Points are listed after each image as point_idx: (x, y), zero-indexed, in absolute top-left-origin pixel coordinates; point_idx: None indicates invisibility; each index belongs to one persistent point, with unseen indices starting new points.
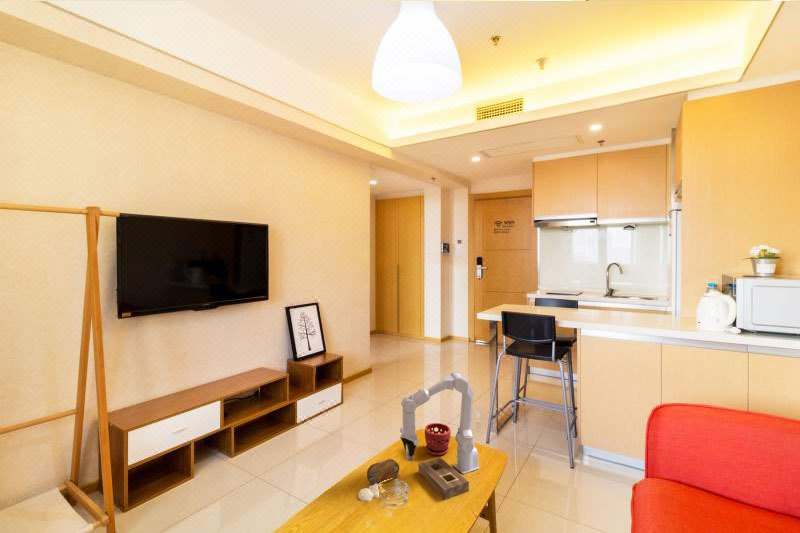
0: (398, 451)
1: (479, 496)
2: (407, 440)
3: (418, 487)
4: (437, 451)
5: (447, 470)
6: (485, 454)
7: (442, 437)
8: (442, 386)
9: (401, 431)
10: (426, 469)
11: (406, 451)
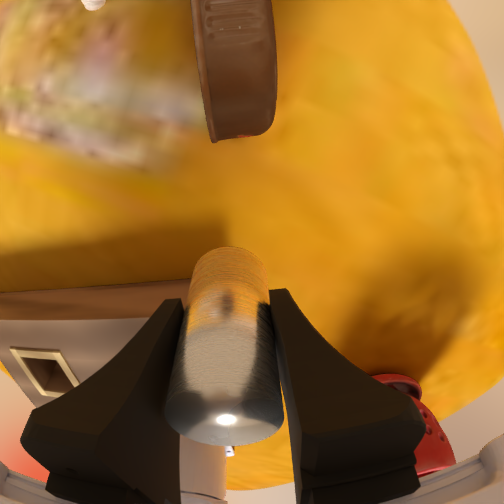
0: (485, 246)
1: None
2: (293, 441)
3: (76, 218)
4: None
5: None
6: (251, 478)
7: None
8: None
9: (474, 498)
10: (136, 329)
11: (215, 307)
